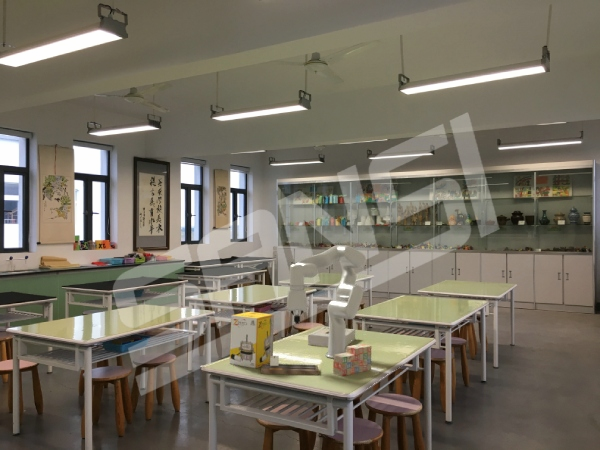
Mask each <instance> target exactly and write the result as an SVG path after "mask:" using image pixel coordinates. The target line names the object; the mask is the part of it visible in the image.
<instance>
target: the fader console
mask: <svg viewBox="0 0 600 450" xmlns="http://www.w3.org/2000/svg"><path fill="white" fill-rule="evenodd" d="M260 372H261V374H263V375H305V376H306V375H309V376H310V375H312V376H314V375H315V376H316V375H317V376H318V375H320V370H319V366H318V364H317V365H315V364H291V363H289V364H288V363H285V364H284V363H278V366H270V363H268V364H262V366H261V371H260ZM261 374H260V375H261Z"/></svg>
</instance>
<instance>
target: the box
mask: <svg viewBox="0 0 600 450" xmlns="http://www.w3.org/2000/svg"><path fill="white" fill-rule="evenodd" d="M351 340H352V341H351ZM355 340H356V329H353V328H352V329H349V328H346V332H345V348H347V346H349V345H350V344H351V343H352V342H354V341H355ZM328 342H329V326H322V327H320V328H319V329H317V330H315V331H312V332H310V333H308V334H307V345H308V346H315V347H322V348H328Z"/></svg>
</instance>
